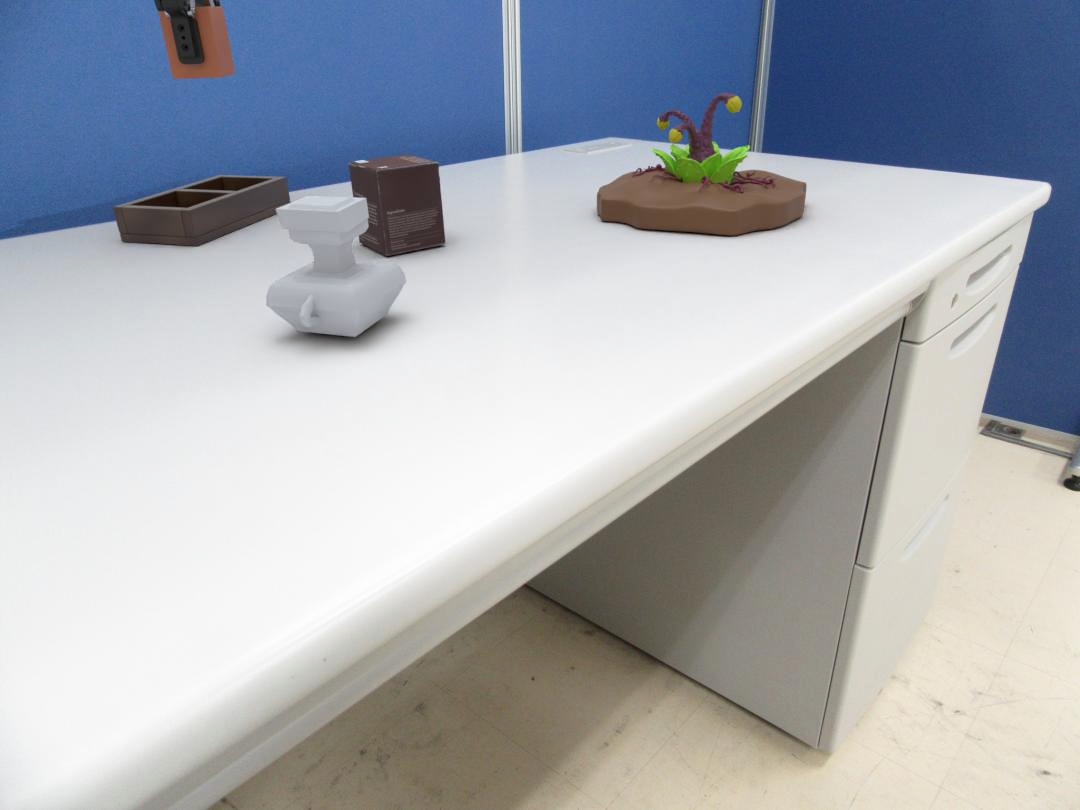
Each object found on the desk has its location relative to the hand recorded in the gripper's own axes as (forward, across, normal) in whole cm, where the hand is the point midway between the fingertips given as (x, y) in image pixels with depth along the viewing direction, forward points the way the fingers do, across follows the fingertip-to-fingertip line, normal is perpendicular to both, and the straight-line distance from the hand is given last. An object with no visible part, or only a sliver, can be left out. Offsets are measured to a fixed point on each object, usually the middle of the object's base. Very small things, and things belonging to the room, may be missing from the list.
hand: (201, 61), depth 76 cm
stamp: (+15, +35, +17) cm, 41 cm away
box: (+15, +14, +19) cm, 28 cm away
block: (+1, 0, 0) cm, 1 cm away
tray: (+15, +2, -1) cm, 15 cm away
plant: (+15, +6, +49) cm, 51 cm away
